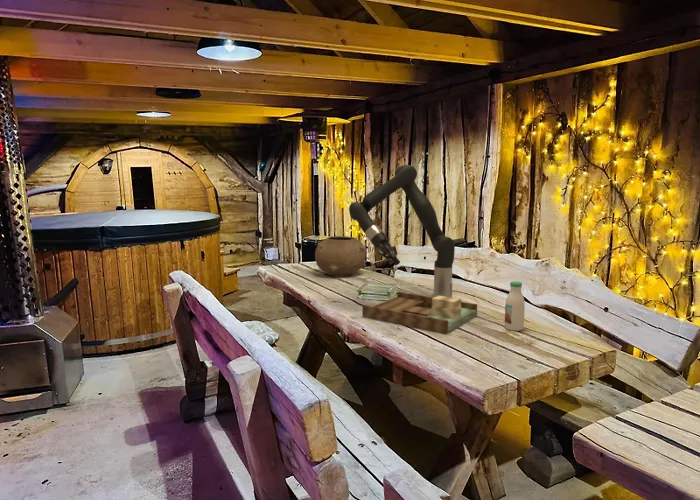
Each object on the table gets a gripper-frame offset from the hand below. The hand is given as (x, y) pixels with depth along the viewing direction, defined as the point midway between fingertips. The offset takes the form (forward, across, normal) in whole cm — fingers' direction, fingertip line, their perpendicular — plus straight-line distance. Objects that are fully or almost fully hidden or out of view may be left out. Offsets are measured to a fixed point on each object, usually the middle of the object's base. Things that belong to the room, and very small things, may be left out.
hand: (398, 263), depth 222 cm
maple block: (+32, -1, -3) cm, 32 cm away
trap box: (+25, 0, +8) cm, 26 cm away
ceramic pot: (-38, +56, +71) cm, 98 cm away
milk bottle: (+54, +7, -20) cm, 58 cm away
